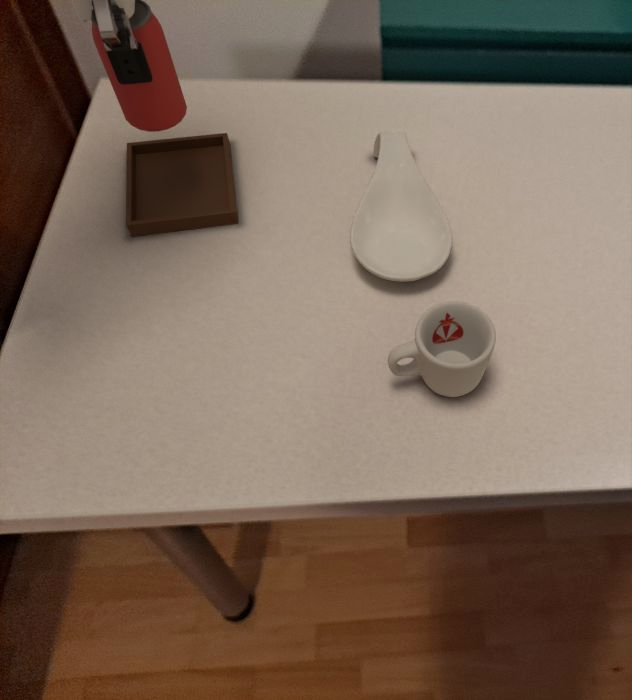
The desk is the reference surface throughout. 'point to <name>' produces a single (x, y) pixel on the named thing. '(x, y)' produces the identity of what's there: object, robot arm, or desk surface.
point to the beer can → (164, 91)
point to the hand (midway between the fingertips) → (136, 58)
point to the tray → (179, 184)
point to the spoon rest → (399, 217)
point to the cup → (448, 348)
